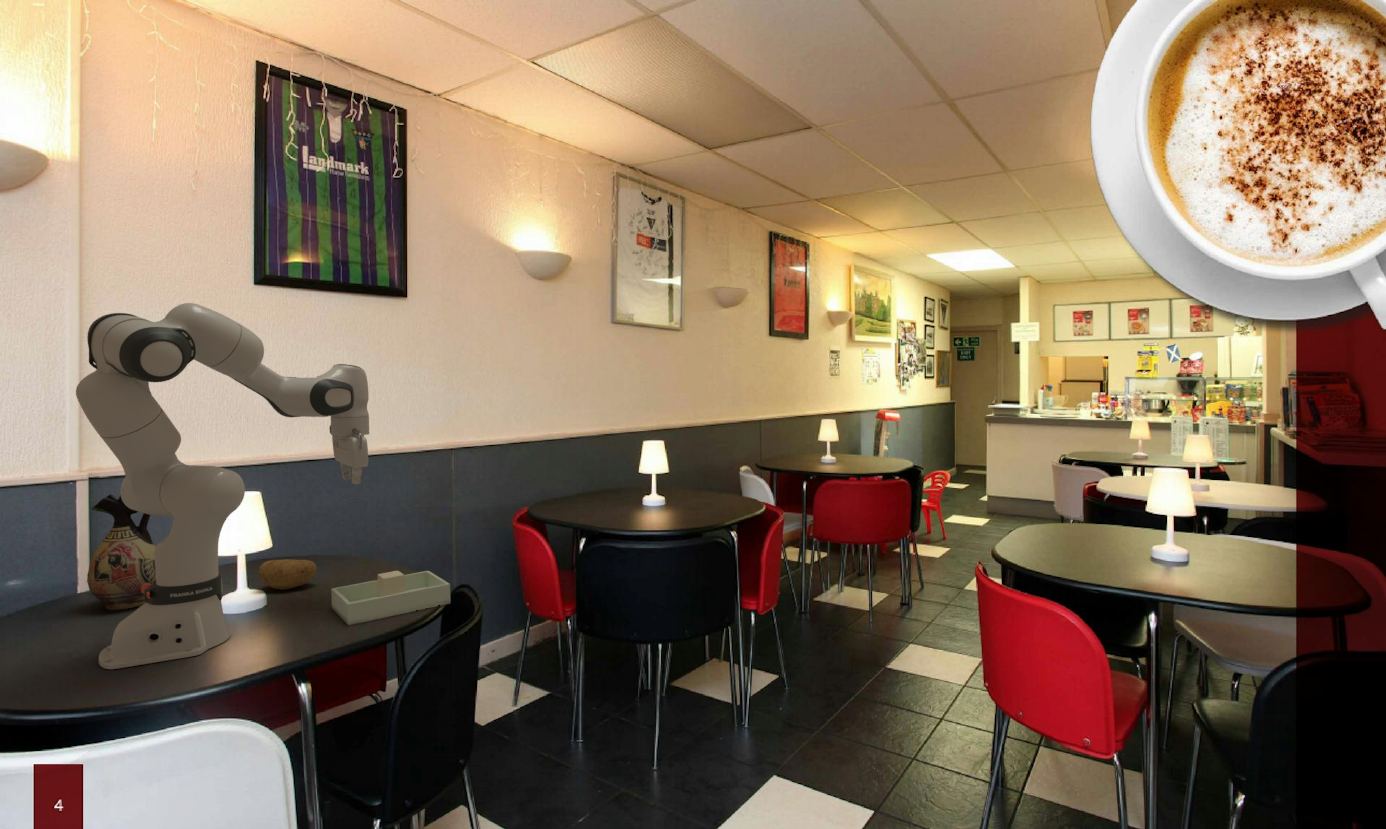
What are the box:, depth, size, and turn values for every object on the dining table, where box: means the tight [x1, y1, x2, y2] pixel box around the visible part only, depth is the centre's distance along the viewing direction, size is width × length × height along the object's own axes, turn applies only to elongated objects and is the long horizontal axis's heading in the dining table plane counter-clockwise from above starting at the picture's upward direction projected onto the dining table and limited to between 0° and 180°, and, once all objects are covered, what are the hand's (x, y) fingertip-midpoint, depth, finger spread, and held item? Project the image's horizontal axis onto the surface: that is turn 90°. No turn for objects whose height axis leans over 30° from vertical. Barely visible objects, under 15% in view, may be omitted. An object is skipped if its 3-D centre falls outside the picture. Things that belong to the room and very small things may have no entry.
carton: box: [377, 570, 405, 597], centre depth 176 cm, size 5×5×7 cm
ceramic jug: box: [86, 494, 157, 611], centre depth 177 cm, size 17×15×30 cm
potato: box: [257, 558, 317, 591], centre depth 190 cm, size 10×14×8 cm
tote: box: [330, 570, 452, 627], centre depth 176 cm, size 24×16×5 cm, turn 130°
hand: (351, 481), depth 180 cm, fingers open, 8 cm apart
